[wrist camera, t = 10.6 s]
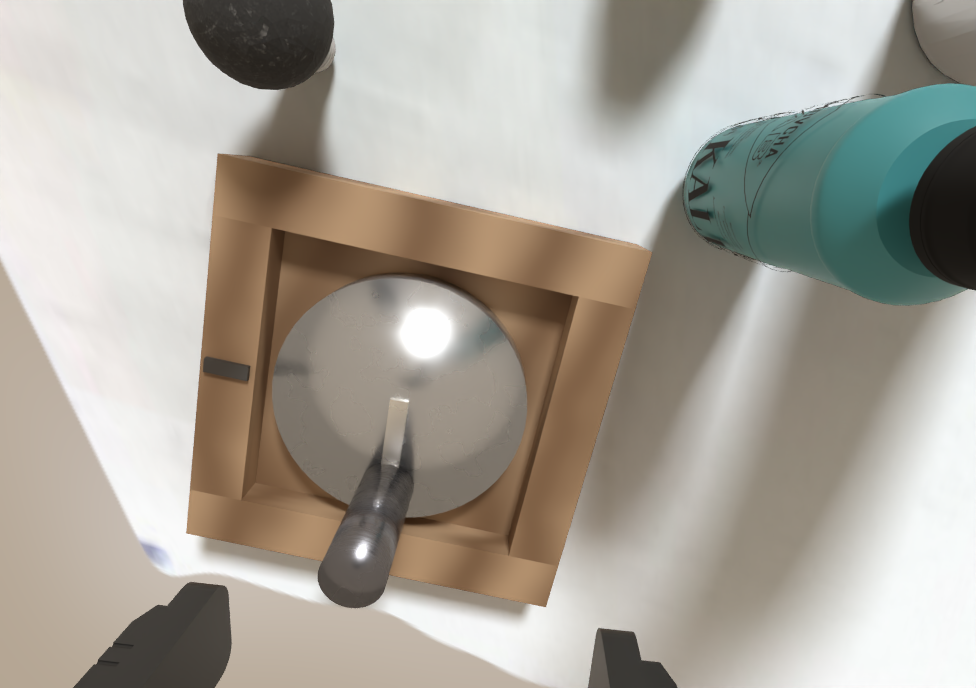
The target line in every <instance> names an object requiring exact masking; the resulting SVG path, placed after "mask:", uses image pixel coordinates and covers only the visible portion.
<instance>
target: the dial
mask: <svg viewBox="0 0 976 688" xmlns="http://www.w3.org/2000/svg"><path fill="white" fill-rule="evenodd" d="M272 402H273V409H274V415H275V419H276V423H277V426H278V430H279V432H280V435H281V437H282V439H283V442H284V444H285V446H286V447H287V449H288V451H289V453H290V454H291V456H292V458H293V459H294V460H295V462H296V463H297V464H298V466H299V467H300V468H301V470H302V471H303V472H304V473H305V474H306V475H307V476H308V477H309V478H310V479H311V480H312V481H313V482H314V483H316V484H317V485H318V486H319V487H320V488H322V489H323V490H324V491H325V492H327V493H329V494H330V495H332V496H333V497H335V498H336V499H338V500H340V501H342V502H344V503H346V504H348V505H349V506H348V508H347V511H346V513H345V515H344V517H343V519H342V521H341V523H340V525H339V527H338V529H337V532H336V534H335V536H334V538H333V540H332V542H331V544H330V546H329V548H328V550H327V553H326V555H325V557H324V559H323V561H322V563H321V565H320V568H319V571H318V582H319V586H320V588H321V590H322V591H323V593H324V594H325V595H326V596H327V597H328V598H329V599H330V600H331V601H333V602H335V603H336V604H339V605H341V606H344V607H349V608H360V607H365V606H368V605H370V604H372V603H374V602H375V601H377V600H378V599H379V598H380V597H381V595H382V594H383V592H384V589H385V586H386V583H387V579H388V576H389V573H390V569H391V566H392V562H393V559H394V556H395V552H396V549H397V545H398V542H399V539H400V535H401V532H402V528H403V525H404V521H405V518H406V517H423V516H431V515H435V514H439V513H443V512H447V511H449V510H452V509H455V508H457V507H460V506H462V505H464V504H466V503H467V502H469V501H471V500H473V499H475V498H476V497H477V496H479V495H480V494H482V493H483V492H485V491H486V490H487V489H488V488H489V487H490V486H491V485H493V484H494V483H495V482H496V481H497V480H498V479H499V477H500V476H501V475H502V474H503V473H504V471H505V470H506V469H507V467H508V466H509V464H510V463H511V461H512V459H513V458H514V456H515V454H516V452H517V449H518V447H519V445H520V443H521V440H522V436H523V433H524V429H525V424H526V416H527V391H526V382H525V375H524V368H523V365H522V361H521V358H520V354H519V352H518V350H517V348H516V345H515V343H514V341H513V339H512V337H511V336H510V334H509V332H508V331H507V329H506V327H505V326H504V325H503V323H502V322H501V321H500V320H499V319H498V317H497V316H496V315H495V314H494V313H493V312H492V311H491V310H490V309H489V308H488V307H487V306H486V305H485V304H484V303H483V302H481V301H480V300H479V299H477V298H476V297H475V296H473V295H472V294H470V293H469V292H467V291H465V290H463V289H462V288H460V287H458V286H456V285H454V284H452V283H449V282H447V281H444V280H441V279H439V278H435V277H431V276H427V275H423V274H414V273H385V274H378V275H372V276H369V277H365V278H362V279H358V280H356V281H353V282H351V283H349V284H347V285H344V286H342V287H341V288H339V289H337V290H336V291H334V292H333V293H331V294H329V295H328V296H326V297H325V298H323V299H322V300H320V301H319V302H318V303H316V304H315V305H314V306H313V307H312V308H310V309H309V310H308V311H307V312H306V313H305V314H304V315H303V316H302V317H301V318H300V319H299V320H298V322H297V323H296V324H295V325H294V326H293V328H292V330H291V331H290V333H289V334H288V336H287V337H286V339H285V341H284V343H283V345H282V347H281V349H280V352H279V354H278V358H277V361H276V364H275V368H274V374H273V381H272Z"/></svg>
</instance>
